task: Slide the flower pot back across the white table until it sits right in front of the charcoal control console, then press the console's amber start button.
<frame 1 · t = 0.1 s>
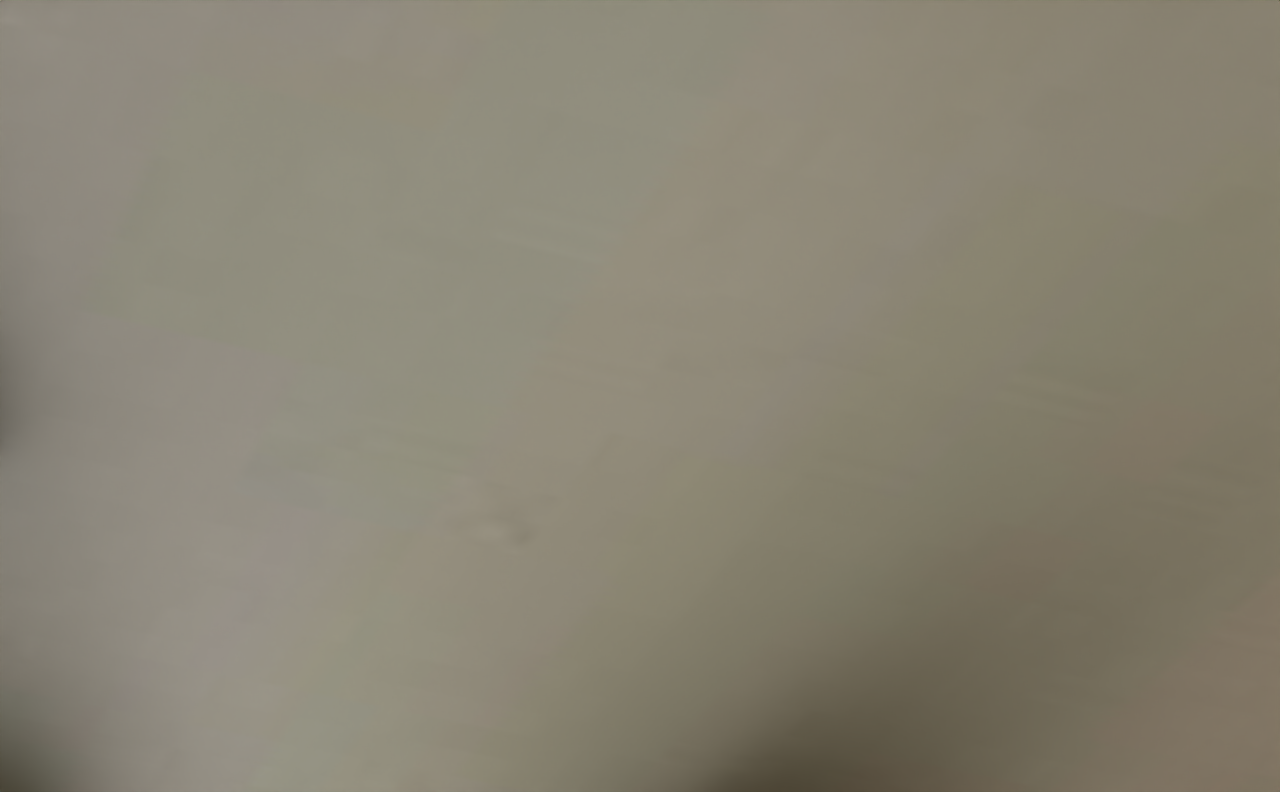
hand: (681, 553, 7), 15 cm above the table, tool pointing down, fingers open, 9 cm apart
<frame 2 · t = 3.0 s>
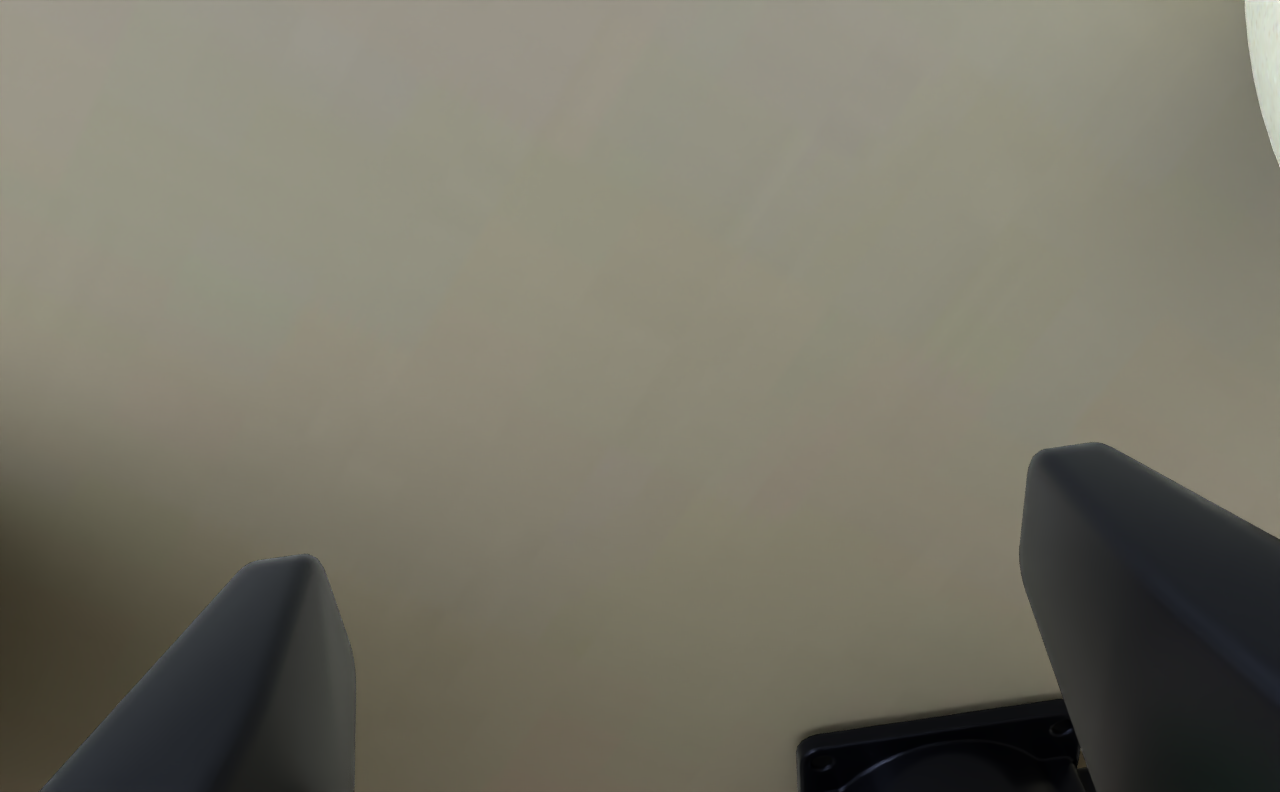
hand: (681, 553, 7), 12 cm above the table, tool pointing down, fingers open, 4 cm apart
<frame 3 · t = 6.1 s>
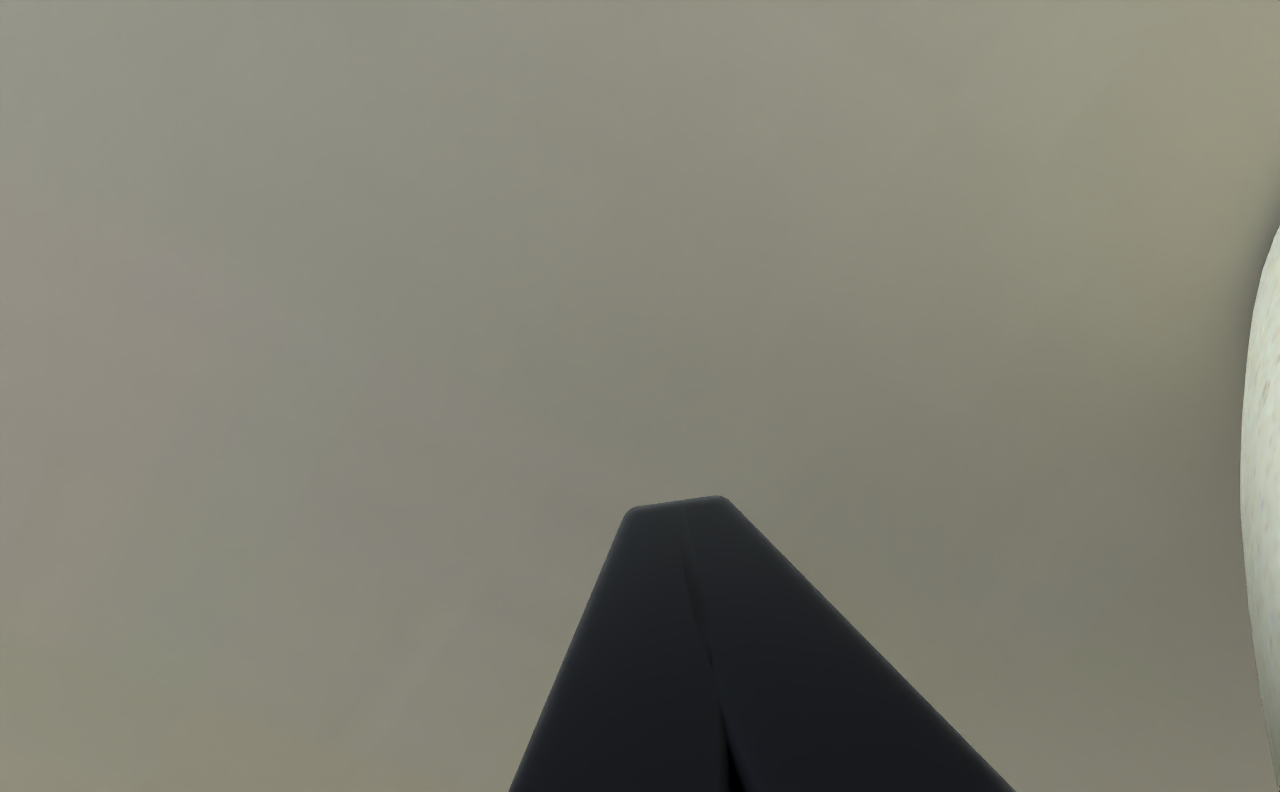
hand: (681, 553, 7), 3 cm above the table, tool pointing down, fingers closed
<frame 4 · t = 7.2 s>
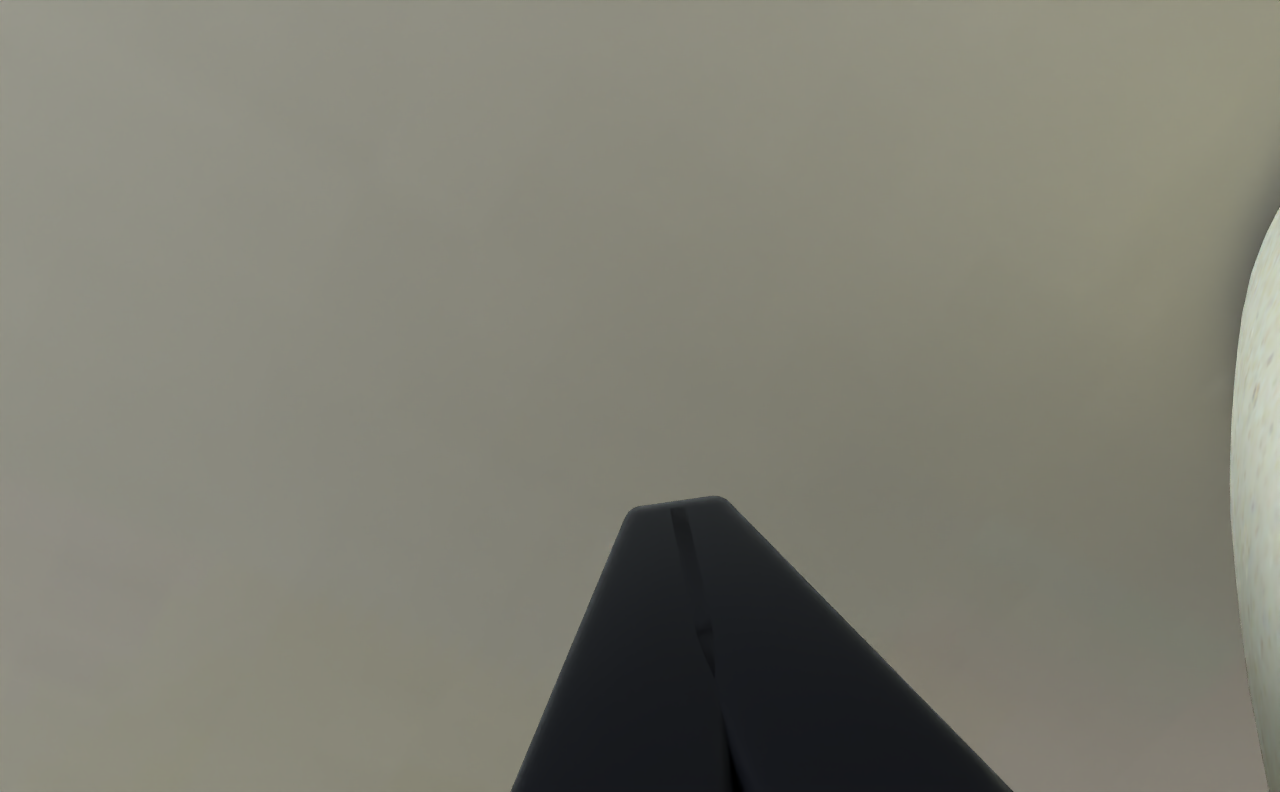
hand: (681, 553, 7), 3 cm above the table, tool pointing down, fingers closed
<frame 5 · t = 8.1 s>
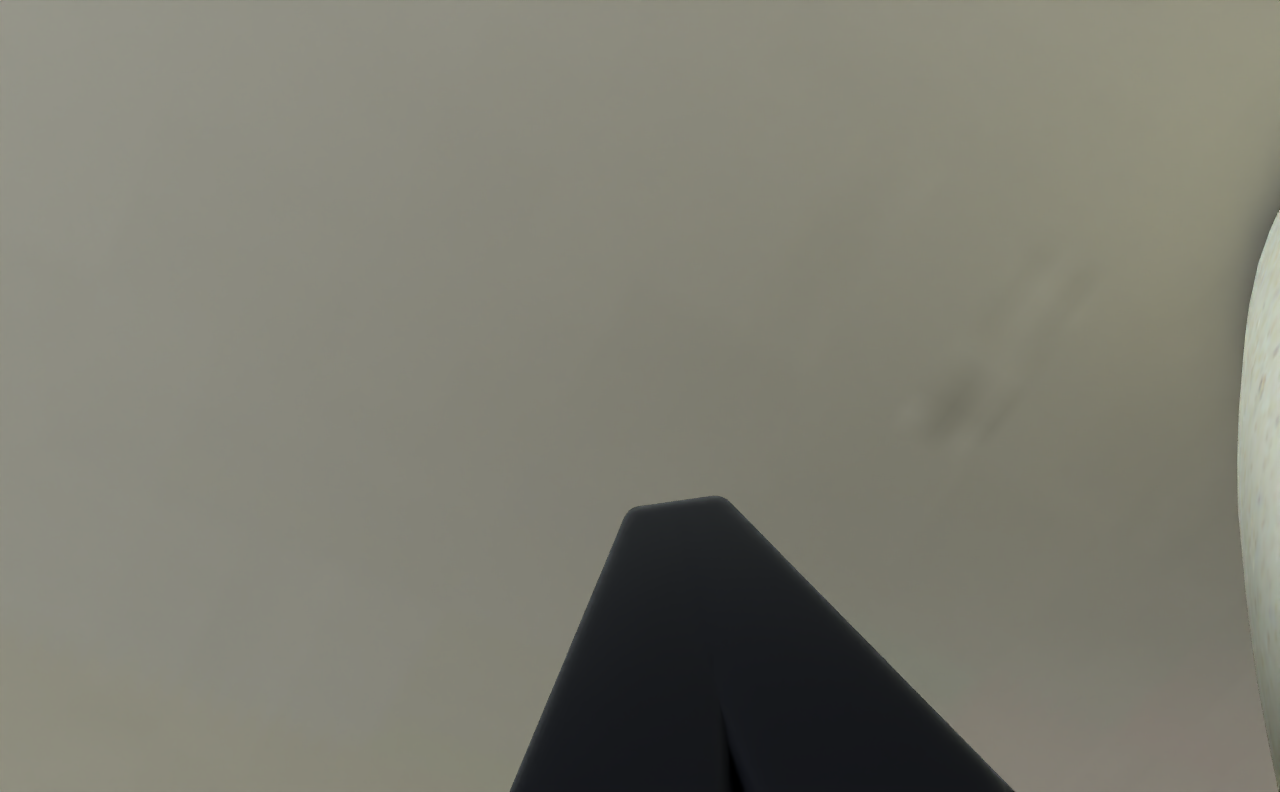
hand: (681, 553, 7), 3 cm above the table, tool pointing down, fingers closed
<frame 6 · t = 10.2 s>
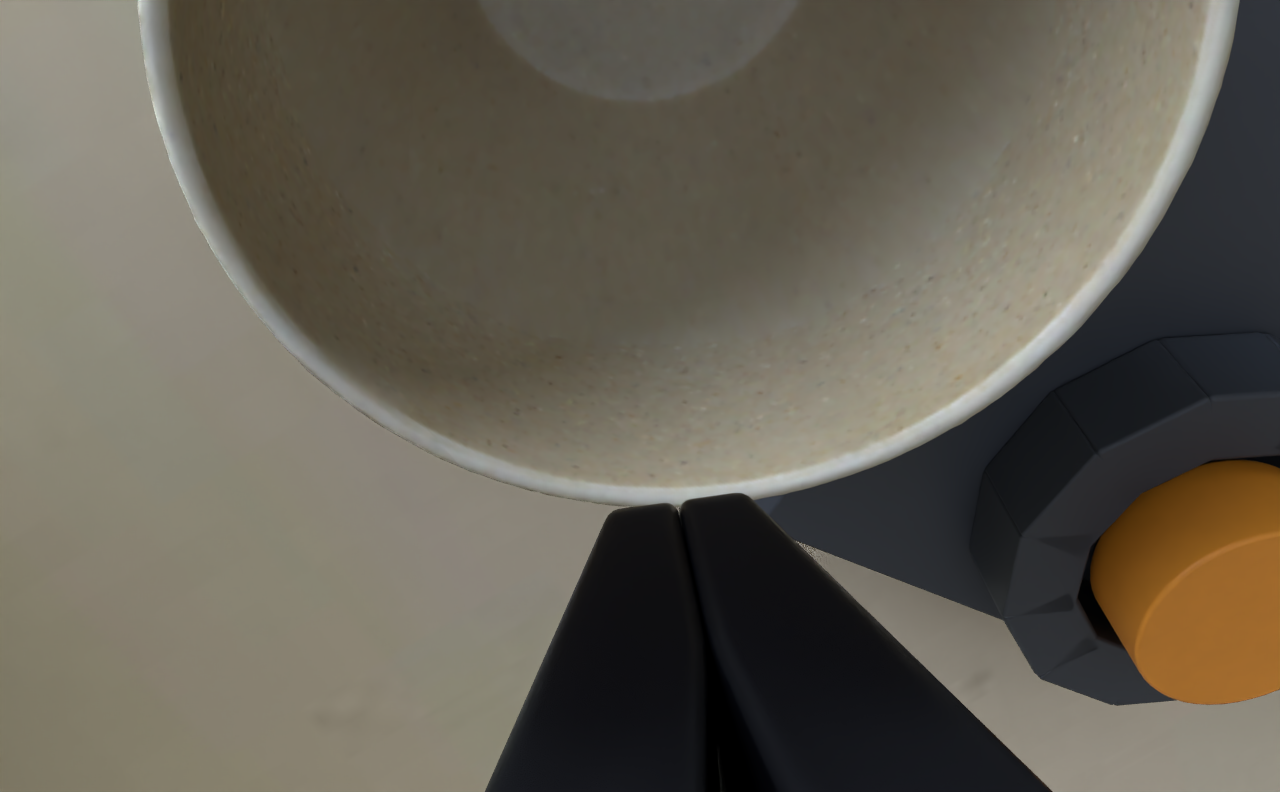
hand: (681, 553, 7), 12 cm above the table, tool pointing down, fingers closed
console: (1182, 233, 21), on the table
start button: (1225, 583, 18), point 5 cm above the table, slide at 0.1 cm
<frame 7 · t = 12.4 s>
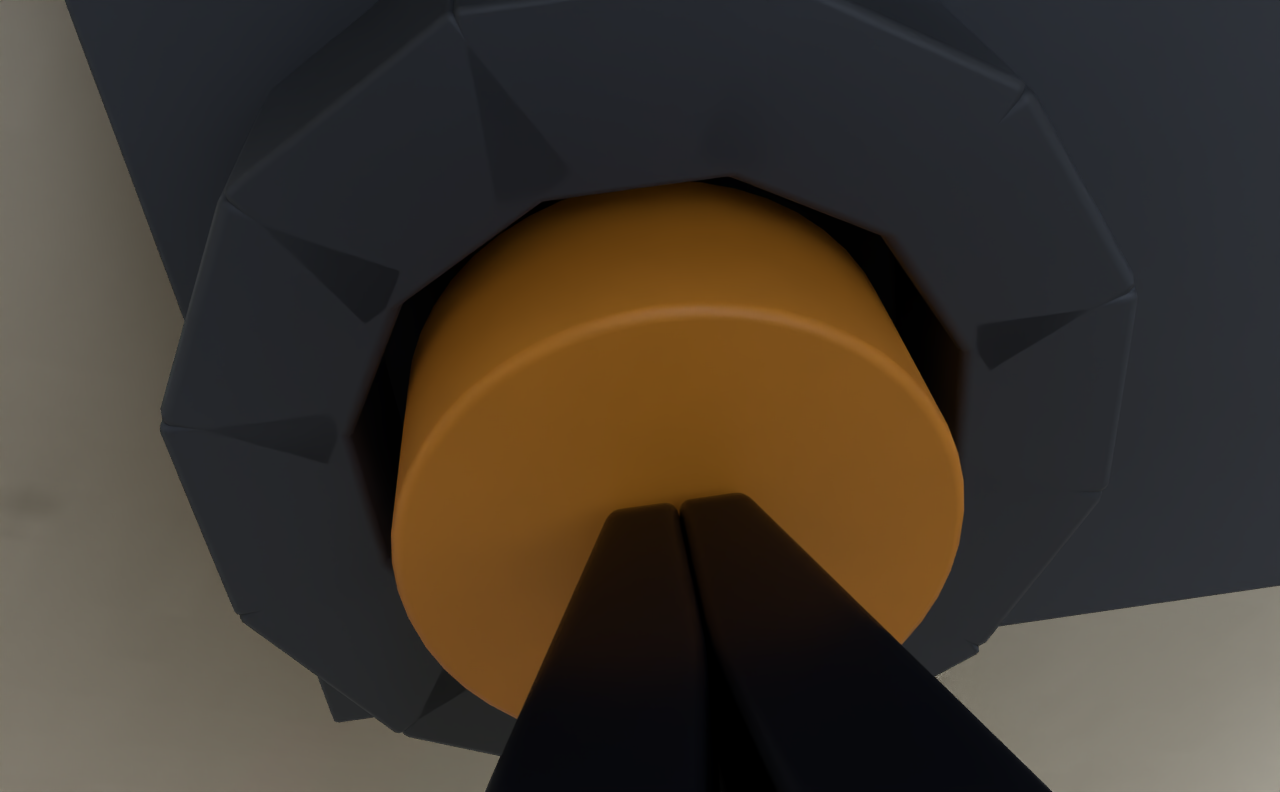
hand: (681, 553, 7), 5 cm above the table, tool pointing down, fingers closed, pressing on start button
console: (963, 47, 11), on the table
start button: (667, 472, 8), point 5 cm above the table, slide at -0.3 cm, touching gripper
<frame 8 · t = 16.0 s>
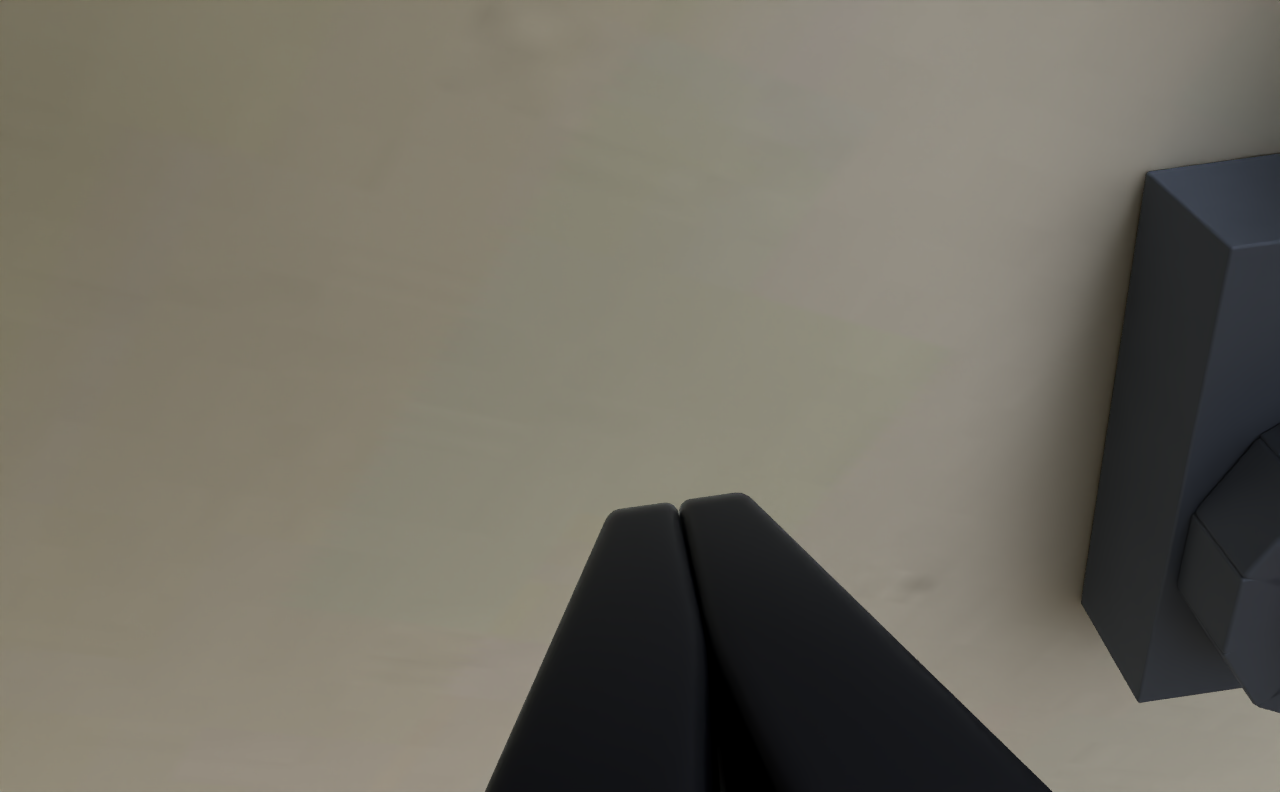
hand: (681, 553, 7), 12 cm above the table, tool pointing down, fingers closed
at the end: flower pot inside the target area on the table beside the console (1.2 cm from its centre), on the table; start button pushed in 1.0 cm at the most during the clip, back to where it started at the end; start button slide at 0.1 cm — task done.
